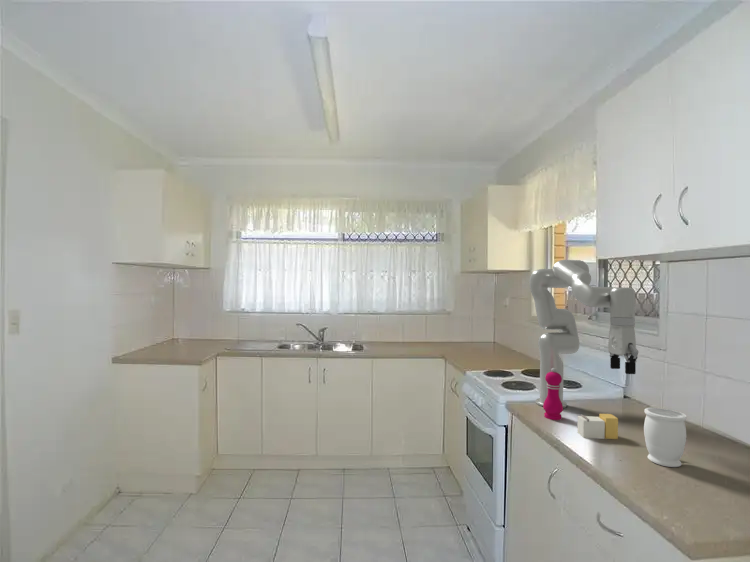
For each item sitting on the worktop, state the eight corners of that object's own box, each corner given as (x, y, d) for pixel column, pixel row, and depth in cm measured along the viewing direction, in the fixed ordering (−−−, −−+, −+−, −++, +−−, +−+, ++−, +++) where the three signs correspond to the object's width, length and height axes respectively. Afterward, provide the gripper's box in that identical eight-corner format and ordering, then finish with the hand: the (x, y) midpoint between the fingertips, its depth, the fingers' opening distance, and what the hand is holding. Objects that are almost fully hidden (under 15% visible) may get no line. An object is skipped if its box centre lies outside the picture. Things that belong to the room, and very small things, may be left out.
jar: (637, 459, 130) (638, 410, 130) (651, 452, 136) (652, 405, 136) (678, 472, 122) (679, 420, 122) (690, 463, 128) (691, 413, 128)
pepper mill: (560, 423, 163) (561, 370, 163) (540, 419, 168) (541, 368, 168) (564, 418, 169) (565, 367, 169) (545, 414, 173) (546, 365, 173)
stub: (599, 433, 151) (599, 413, 151) (610, 433, 151) (611, 414, 151) (605, 438, 146) (606, 418, 146) (617, 439, 146) (618, 418, 146)
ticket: (577, 432, 152) (577, 414, 152) (597, 433, 151) (598, 415, 151) (583, 438, 147) (583, 419, 147) (604, 438, 146) (604, 419, 146)
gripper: (599, 320, 159) (599, 366, 159) (625, 324, 142) (625, 375, 142) (620, 320, 159) (620, 367, 159) (648, 324, 142) (648, 376, 141)
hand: (622, 371), depth 150 cm, fingers open, 9 cm apart
